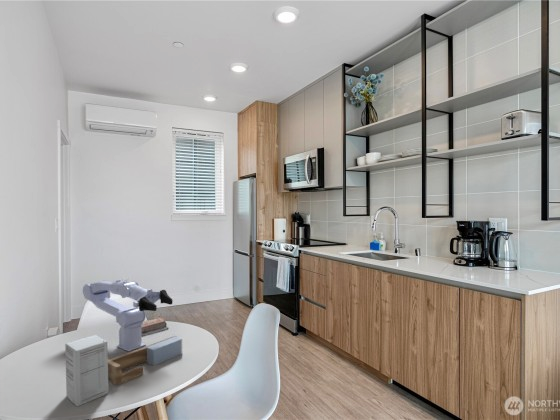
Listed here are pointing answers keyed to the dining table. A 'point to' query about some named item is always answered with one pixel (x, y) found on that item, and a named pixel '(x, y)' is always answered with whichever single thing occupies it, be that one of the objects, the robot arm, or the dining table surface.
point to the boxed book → (164, 350)
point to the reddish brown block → (153, 326)
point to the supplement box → (86, 369)
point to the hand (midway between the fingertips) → (163, 305)
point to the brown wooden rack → (127, 365)
